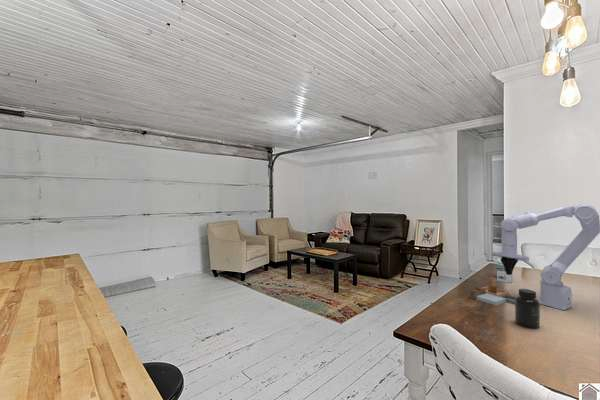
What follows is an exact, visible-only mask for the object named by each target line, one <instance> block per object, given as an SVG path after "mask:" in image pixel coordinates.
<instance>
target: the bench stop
mask: <svg viewBox="0 0 600 400" xmlns="http://www.w3.org/2000/svg"><path fill="white" fill-rule="evenodd" d="M482 294H485V289H484V288H483V287H480V286H475V288H474V289H471V290H470V299H472V300H476V296H479V295H482ZM476 301H477V300H476Z"/></svg>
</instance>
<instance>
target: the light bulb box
mask: <svg viewBox="0 0 600 400" xmlns="http://www.w3.org/2000/svg"><path fill="white" fill-rule="evenodd" d="M500 259H502V257H497V260H496V278H497V282H503V283H508V284H512V283H513V274H512V275H507V274H506V270H505V268H504V265H503V263H502V262H501V260H500Z"/></svg>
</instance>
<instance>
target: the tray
mask: <svg viewBox="0 0 600 400" xmlns="http://www.w3.org/2000/svg"><path fill="white" fill-rule="evenodd" d="M482 288H484V289H485V293H487V294H491V295H495V296H501V295H504V294H507V295H510V291H509V290H508V291H507V290H505V289H501V288H497V294H494V293H491V292H488V285H487V286H483V287H482Z"/></svg>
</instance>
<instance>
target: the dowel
mask: <svg viewBox="0 0 600 400" xmlns="http://www.w3.org/2000/svg"><path fill="white" fill-rule="evenodd" d="M487 286H488V292H491V293H494V294H497V289H498V281H497V277H494V276H488V285H487Z"/></svg>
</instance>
